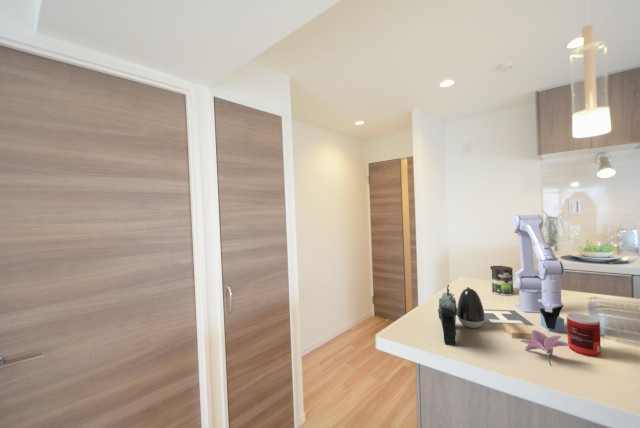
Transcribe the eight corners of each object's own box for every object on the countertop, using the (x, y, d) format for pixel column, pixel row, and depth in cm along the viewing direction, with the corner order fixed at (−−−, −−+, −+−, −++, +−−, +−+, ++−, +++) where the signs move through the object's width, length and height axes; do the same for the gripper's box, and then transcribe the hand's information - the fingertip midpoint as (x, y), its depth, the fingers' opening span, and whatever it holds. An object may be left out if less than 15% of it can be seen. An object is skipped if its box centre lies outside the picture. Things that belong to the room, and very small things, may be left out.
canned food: (590, 346, 89) (589, 313, 89) (607, 358, 81) (606, 323, 81) (562, 343, 91) (561, 312, 91) (576, 355, 84) (575, 321, 84)
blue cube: (555, 326, 104) (555, 313, 104) (564, 332, 99) (563, 319, 99) (541, 325, 105) (540, 313, 105) (548, 331, 100) (548, 318, 100)
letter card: (514, 310, 121) (514, 310, 121) (534, 325, 105) (534, 325, 105) (471, 309, 125) (471, 308, 125) (484, 323, 109) (484, 323, 109)
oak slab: (525, 330, 102) (525, 324, 102) (537, 340, 94) (537, 334, 94) (502, 329, 104) (502, 323, 104) (512, 339, 96) (511, 332, 96)
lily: (579, 367, 80) (566, 332, 84) (572, 366, 73) (558, 329, 78) (532, 365, 88) (522, 333, 92) (521, 364, 81) (511, 330, 86)
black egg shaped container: (483, 321, 111) (481, 286, 111) (487, 332, 101) (485, 293, 101) (456, 318, 115) (454, 284, 115) (457, 328, 106) (456, 291, 106)
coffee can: (517, 295, 140) (516, 269, 140) (496, 295, 141) (495, 269, 141) (507, 289, 150) (506, 265, 150) (487, 289, 152) (486, 265, 151)
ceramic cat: (459, 349, 91) (456, 292, 90) (438, 345, 93) (436, 290, 93) (456, 325, 109) (454, 277, 108) (439, 323, 111) (437, 276, 111)
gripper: (541, 284, 110) (542, 316, 110) (534, 293, 100) (535, 328, 100) (564, 287, 104) (565, 321, 104) (559, 297, 95) (560, 334, 95)
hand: (552, 325), depth 102 cm, fingers closed on blue cube, 7 cm apart
